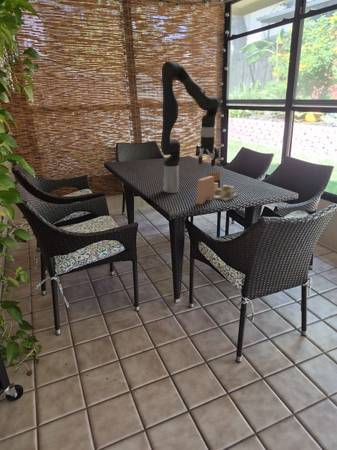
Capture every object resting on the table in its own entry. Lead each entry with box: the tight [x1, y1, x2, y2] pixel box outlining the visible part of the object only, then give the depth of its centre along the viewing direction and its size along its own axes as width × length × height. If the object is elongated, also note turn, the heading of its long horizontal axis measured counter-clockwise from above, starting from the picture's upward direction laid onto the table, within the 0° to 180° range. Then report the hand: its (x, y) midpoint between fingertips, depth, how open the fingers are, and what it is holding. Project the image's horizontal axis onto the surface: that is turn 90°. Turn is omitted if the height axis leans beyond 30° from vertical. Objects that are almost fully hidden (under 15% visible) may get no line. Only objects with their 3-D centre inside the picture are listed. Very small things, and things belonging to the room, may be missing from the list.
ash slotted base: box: [213, 182, 239, 202], centre depth 192 cm, size 18×14×7 cm
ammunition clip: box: [206, 169, 221, 188], centre depth 207 cm, size 11×2×12 cm, turn 120°
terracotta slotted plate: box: [196, 175, 214, 205], centre depth 181 cm, size 3×12×14 cm, turn 137°
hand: (206, 165), depth 175 cm, fingers open, 8 cm apart
